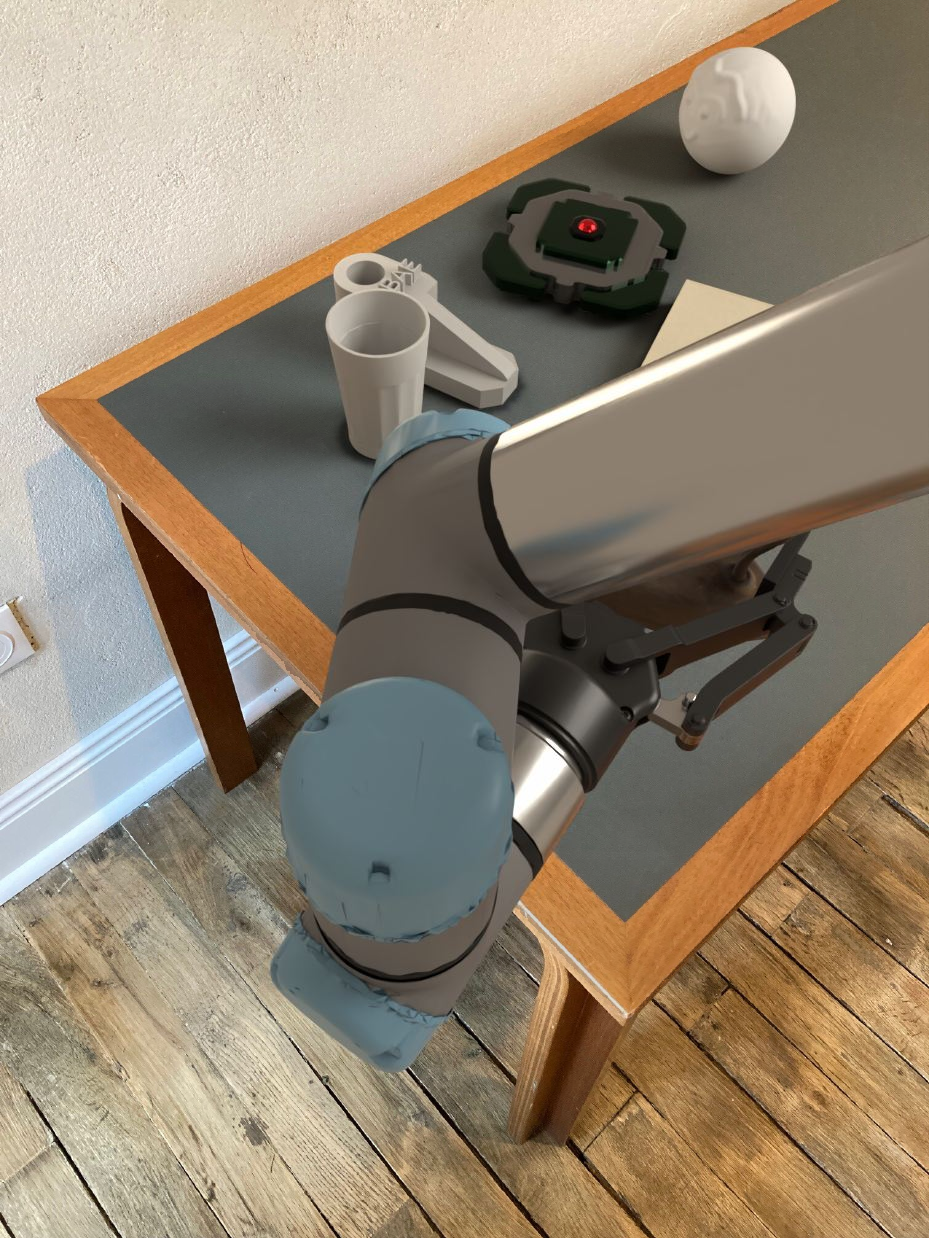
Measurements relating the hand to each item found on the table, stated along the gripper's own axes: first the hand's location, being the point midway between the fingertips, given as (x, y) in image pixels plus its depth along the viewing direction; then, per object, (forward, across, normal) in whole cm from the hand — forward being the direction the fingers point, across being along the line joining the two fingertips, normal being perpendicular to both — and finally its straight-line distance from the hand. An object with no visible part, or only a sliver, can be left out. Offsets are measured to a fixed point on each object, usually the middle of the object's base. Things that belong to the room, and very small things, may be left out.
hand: (721, 476), depth 56 cm
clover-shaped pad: (+35, -28, -18) cm, 48 cm away
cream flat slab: (+29, -6, -18) cm, 34 cm away
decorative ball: (+59, -24, -18) cm, 66 cm away
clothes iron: (-4, +1, -6) cm, 7 cm away
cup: (+4, -30, -18) cm, 35 cm away
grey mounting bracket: (+14, -32, -18) cm, 40 cm away
